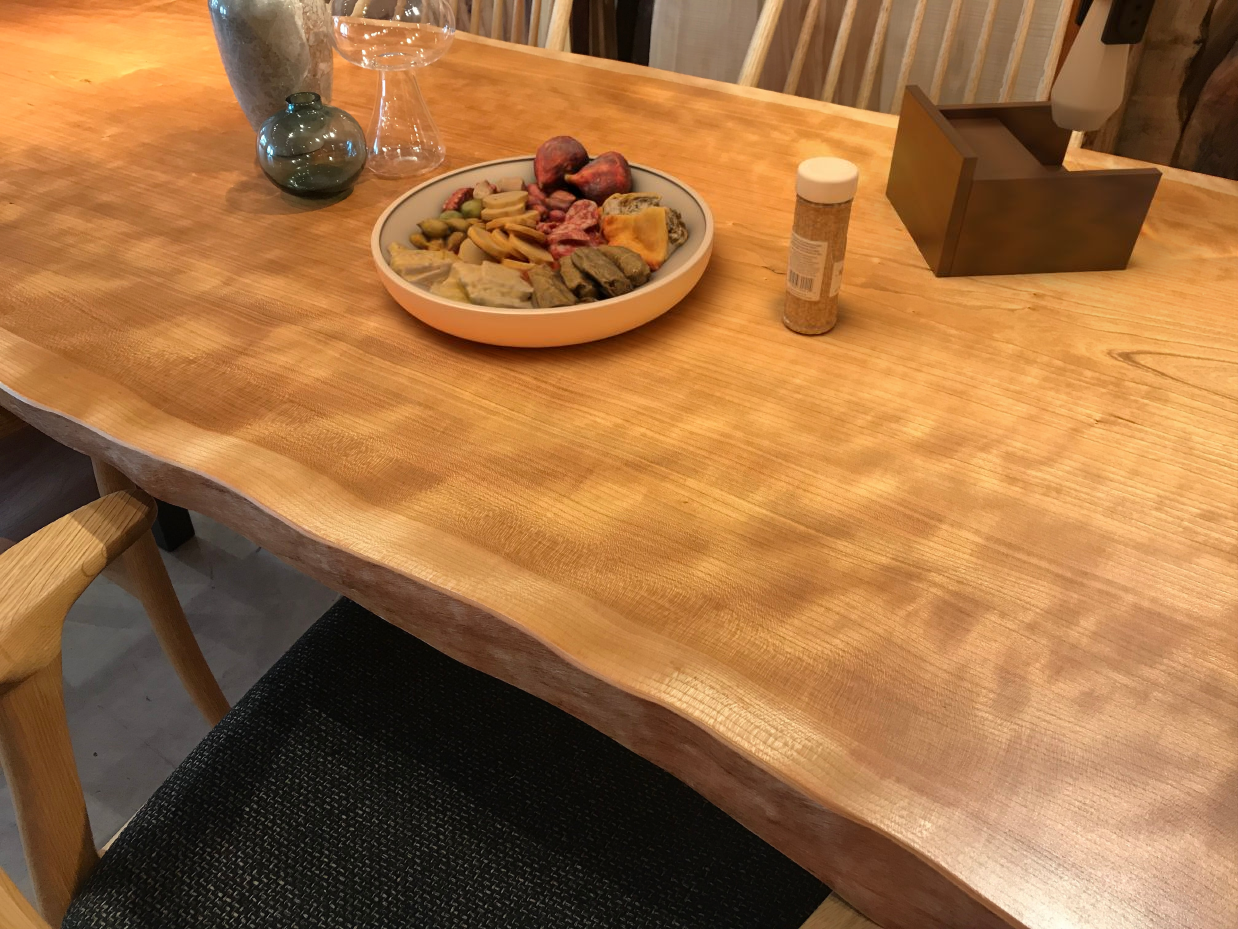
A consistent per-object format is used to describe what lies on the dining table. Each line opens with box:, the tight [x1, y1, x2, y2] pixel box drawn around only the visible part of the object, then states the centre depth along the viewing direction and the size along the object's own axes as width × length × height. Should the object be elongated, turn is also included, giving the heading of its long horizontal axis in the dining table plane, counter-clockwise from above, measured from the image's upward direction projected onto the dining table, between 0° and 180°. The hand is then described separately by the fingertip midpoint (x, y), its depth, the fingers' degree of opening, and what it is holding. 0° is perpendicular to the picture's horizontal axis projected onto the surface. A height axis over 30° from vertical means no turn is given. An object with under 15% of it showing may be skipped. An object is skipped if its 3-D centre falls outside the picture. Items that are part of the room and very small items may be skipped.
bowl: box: [370, 135, 715, 348], centre depth 81 cm, size 30×30×8 cm
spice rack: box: [885, 84, 1163, 278], centre depth 84 cm, size 17×17×11 cm
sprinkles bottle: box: [781, 156, 860, 335], centre depth 72 cm, size 5×5×13 cm
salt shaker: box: [1050, 0, 1131, 133], centre depth 77 cm, size 6×6×13 cm
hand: (1106, 31), depth 76 cm, fingers closed on salt shaker, 4 cm apart
